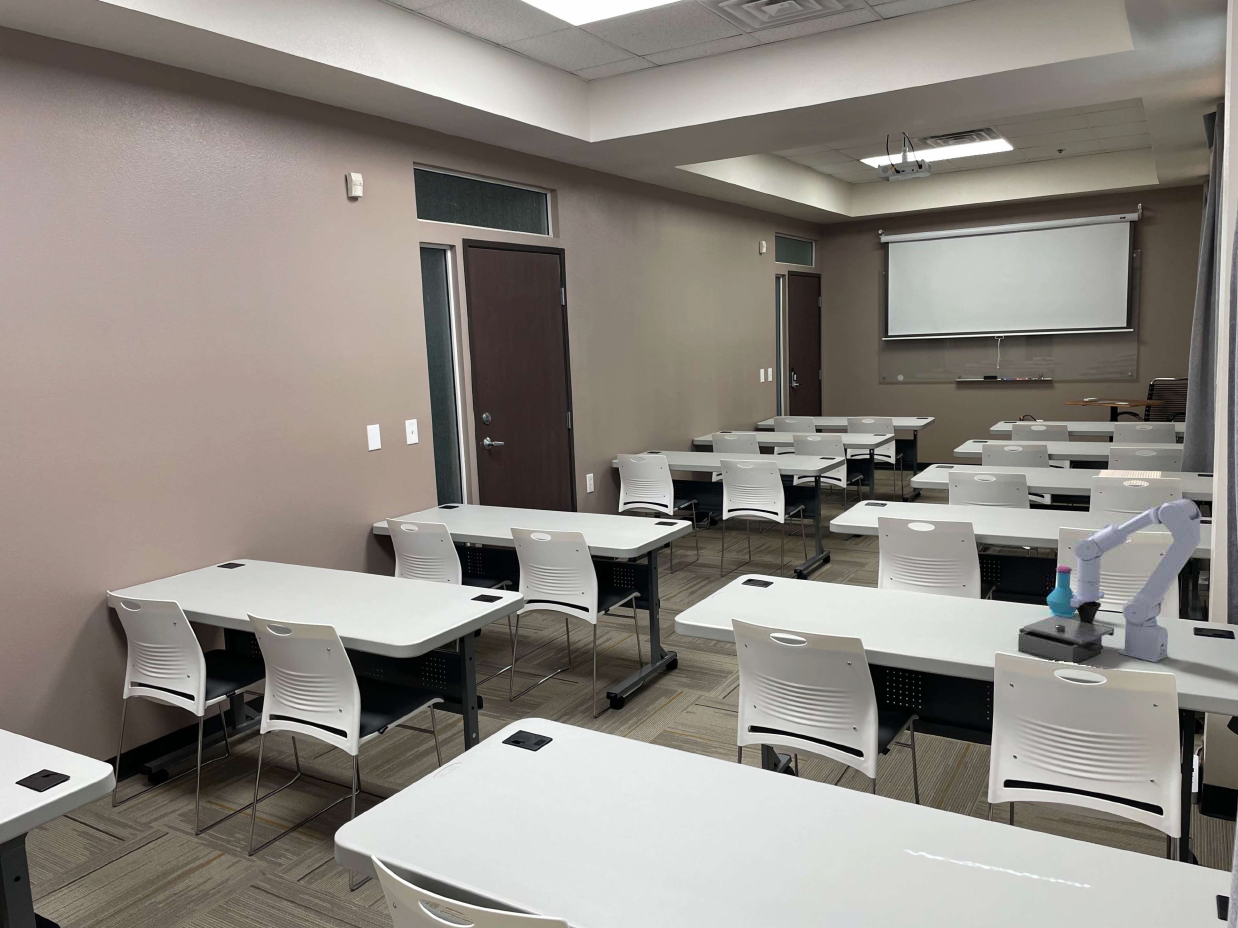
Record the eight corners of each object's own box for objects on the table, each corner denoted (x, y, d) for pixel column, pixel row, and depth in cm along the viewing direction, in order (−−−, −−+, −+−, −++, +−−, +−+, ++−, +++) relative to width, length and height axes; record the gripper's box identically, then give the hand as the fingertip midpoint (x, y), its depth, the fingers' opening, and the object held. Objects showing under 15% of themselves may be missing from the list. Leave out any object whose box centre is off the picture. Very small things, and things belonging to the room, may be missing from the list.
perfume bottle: (1071, 609, 275) (1073, 564, 273) (1084, 618, 265) (1085, 571, 264) (1041, 609, 275) (1042, 564, 274) (1053, 618, 266) (1054, 571, 265)
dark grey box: (1112, 656, 232) (1113, 638, 231) (1083, 669, 223) (1084, 650, 223) (1037, 637, 249) (1037, 620, 248) (1008, 648, 240) (1008, 631, 240)
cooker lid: (1113, 634, 236) (1114, 623, 236) (1081, 647, 227) (1081, 636, 226) (1056, 621, 249) (1056, 610, 249) (1023, 633, 240) (1024, 622, 240)
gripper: (1087, 573, 249) (1085, 618, 251) (1060, 581, 241) (1058, 628, 243) (1112, 578, 243) (1110, 624, 245) (1085, 586, 235) (1084, 634, 237)
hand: (1086, 626), depth 243 cm, fingers closed
